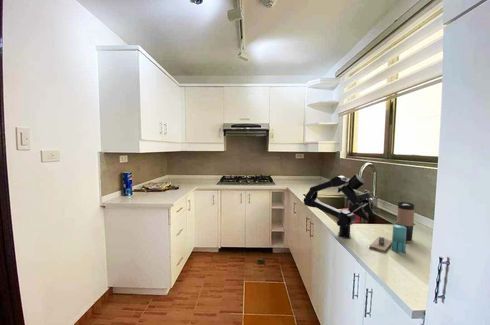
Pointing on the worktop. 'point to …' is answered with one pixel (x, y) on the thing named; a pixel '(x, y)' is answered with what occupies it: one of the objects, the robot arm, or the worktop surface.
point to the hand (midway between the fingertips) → (371, 218)
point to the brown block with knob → (381, 244)
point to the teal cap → (399, 238)
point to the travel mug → (406, 218)
